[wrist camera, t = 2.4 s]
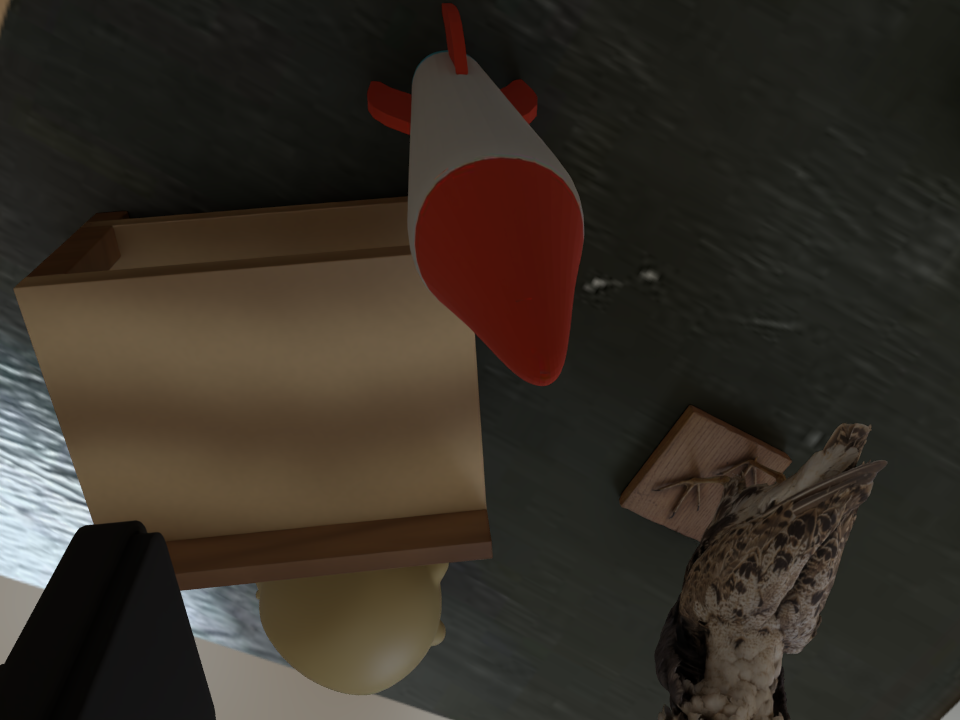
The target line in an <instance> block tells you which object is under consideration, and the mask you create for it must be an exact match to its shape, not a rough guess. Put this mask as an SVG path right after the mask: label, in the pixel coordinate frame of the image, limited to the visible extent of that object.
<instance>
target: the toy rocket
mask: <svg viewBox="0 0 960 720" xmlns="http://www.w3.org/2000/svg"><path fill="white" fill-rule="evenodd" d="M442 15H443V20H444V25H445V31H446V38H447V45H448V50H445V51H438V52H435V53H432V54H430V55H429V56H427V57H425V58H424V59H423V60H422V61H421V62H420V64H419V65H418V66H417V68H416V70H415V73H414V76H413V80H412V99H411V94H408V93H405V92H402V91H399V90H396V89H393V88H390V87H388V86H387V85H385V84H383V83H381V82H377V81H371V83H370V86H369V89H368V92H367V99H368V111H369V112H370V113H371V115H372V116H373V118H374V119H376V120H378V121H379V122H381V123H382V124H384V125H386V126H388V127H390V128H393V129H395V130H398V131H401V132H403V133H406V134H408V135H410V157H409V186H408V218H407V223H408V236H409V244H410V250H411V254H412V258H413V261H414V264H415V267H416V270H417V272H418V274H419V275H420V277H421V279H422V281H423V283H424V284H425V286H426V287H427V289H428V290H429V291H430V292H431V293H432V294H433V295H434V296H435V297H436V298H437V300H439V301H440V302H441V303H442V304H443V305H444V306H446V307H447V308H448V309H449V310H450V311H451V312H453V313H454V314H455V315H456V316H457V317H458V318H459V319H460V320H461V321H463V322H464V323H465V324H466V325H467V326H468V327H469V328H470V329H471V330H472V331H473V332H474V333H475V334H476V335H477V336H478V337H479V338H480V339H481V340H482V341H483V342H484V343H485V344H486V345H487V346H488V347H489V348H490V349H491V351H492V352H493V353H494V354H495V355H496V356H497V357H498V358H499V359H500V360H501V361H502V362H503V363H504V364H505V365H506V366H507V367H508V368H509V369H510V370H511V371H513V372H514V373H515V374H516V375H517V376H519V377H520V378H522V379H523V380H525V381H527V382H529V383H531V384H534V385H537V386H546V385H549V384H551V383H553V382H554V381H555V380H556V379H557V378H558V376H559V375H560V373H561V370H562V368H563V365H564V362H565V358H566V353H567V347H568V340H569V333H570V325H571V315H572V306H573V297H574V290H575V284H576V279H577V273H578V268H579V264H580V259H581V254H582V248H583V241H584V216H583V211H582V207H581V202H580V197H579V195H578V193H577V190H576V188H575V186H574V183H573V181H572V179H571V177H570V176H569V174H568V173H567V171H566V170H565V169H564V167H563V166H562V165H561V163H560V162H559V161H558V159H557V158H556V157H555V155H554V154H553V153H552V152H551V150H550V149H549V148H548V147H547V146H546V144H545V143H544V142H543V141H542V140H541V138H540V137H539V136H538V135H537V134H536V132H535V131H534V130H533V129H532V128H531V126H530V125H529V124H530V123H531V122H532V120H533V119H534V118H535V117H536V116H537V96H536V94H535V93H534V91H533V90H532V89H531V88H530V87H529V86H528V85H527V84H526V83H525V82H524V81H523V80H522V79H520V80H514V81H512V82H511V83H510V84H509V85H508V86H507V87H504V88H502V89H499V88H498V87H497V86H496V85H495V84H494V82H493V81H492V80H491V79H490V78H489V76H488V75H487V74H486V73H485V72H484V70H483V69H482V68H481V67H480V66H479V64H478V63H477V62H476V61H475V60H474V59H473V58H472V57H470V56H469V55H467V54H466V49H465V41H464V35H463V29H462V23H461V19H460V15H459V11H458V9H457V8H456V6H455V5H453V4H452V3H442Z"/></svg>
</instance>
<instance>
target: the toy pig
mask: <svg viewBox="0 0 960 720" xmlns="http://www.w3.org/2000/svg"><path fill="white" fill-rule="evenodd" d="M448 565H449V563H441V564H432V565H422V566H413V567H403V568H393V569H384V570H374V571H364V572H355V573H345V574H336V575H326V576H316V577H307V578H297V579H287V580H278V581H268V582H259V583H256V585H257V587H258V591H257V592H256V598H257V599H259V611H260V618H261V622H262V625H263V628H264V630H265V632H266V634H267V636H268V638H269V640H270V641H271V643H272V644H273V646H274V647H275V648H276V650H277V651H278V652H279V653H280V654H281V656H282V657H283V658H284V659H285V660H286V661H287V662H288V663H289V664H290V665H291V666H292V667H293V668H295V669H296V670H297V671H298V672H300V673H301V674H302V675H304V676H305V677H307V678H308V679H310V680H312V681H313V682H315V683H317V684H319V685H321V686H324V687H326V688H328V689H331V690H334V691H337V692H341V693H345V694H352V695H370V694H375V693H378V692H380V691H383V690H385V689H387V688H389V687H391V686H392V685H394V684H396V683H397V682H399V681H400V680H402V679H403V678H404V677H406V676H407V675H408V674H409V673H410V672H411V671H412V670H413V669H414V668H415V667H416V666H417V665H418V664H419V663H420V662H421V660H422V659H423V658H424V656H425V655H426V653H427V652H428V650H429V648H430V646H435V645H438V644H440V643H441V642H442V641H443V639H444V637H445V633H446V630H445V626H444V624H443V623H442V621H441V620H440V616H441V587H440V581H441V580H442V578H443V576H444V575H445V573H446V571H447V569H448Z"/></svg>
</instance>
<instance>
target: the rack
mask: <svg viewBox="0 0 960 720" xmlns="http://www.w3.org/2000/svg"><path fill="white" fill-rule="evenodd" d="M407 218H408V196H405V197H393V198H380V199H368V200H356V201H343V202H331V203H319V204H306V205H294V206H282V207H269V208H257V209H245V210H232V211H220V212H208V213H195V214H183V215H171V216H158V217H146V218H134V219H129V215H128V212H127V211H118V212H106V213H96V214H95V215H94V216H93V217H92V218H90V219H89V220H88V221H87V222H86V223H85V224H84V225H83V226H81V227H80V228H79V229H78V230H77V231H76V232H75V233H74V234H73V235H72V236H71V237H70V238H68V239H67V240H66V241H65V242H64V243H63V244H62V245H61V246H60V247H59V248H57V249H56V250H55V251H54V252H53V253H52V254H51V255H50V256H49V257H48V258H47V259H45V260H44V261H43V262H42V263H41V264H40V265H39V266H38V267H37V268H36V269H34V270H33V271H32V272H31V273H30V274H29V275H28V276H27V277H25V278H24V279H23V280H22V281H21V282H20V283H19V284H17V285H16V286H15V287H14V292H15V295H16V298H17V301H18V304H19V307H20V310H21V313H22V315H23V318H24V321H25V324H26V327H27V330H28V333H29V336H30V339H31V342H32V345H33V348H34V351H35V354H36V356H37V359H38V362H39V365H40V368H41V371H42V374H43V377H44V380H45V383H46V386H47V389H48V392H49V394H50V397H51V400H52V403H53V406H54V409H55V412H56V415H57V418H58V421H59V424H60V427H61V430H62V433H63V435H64V438H65V441H66V444H67V447H68V450H69V453H70V456H71V459H72V462H73V465H74V468H75V471H76V473H77V476H78V479H79V482H80V485H81V488H82V491H83V494H84V497H85V500H86V503H87V506H88V509H89V512H90V514H91V517H92V520H93V523H94V524H104V523H114V522H124V521H134V520H137V521H140V522H142V523H143V525H144V526H145V527H146V530H147V532H148V533H153V532H159V533H161V534H162V535H163V537H164V539H165V542H166V544H167V548H168V551H169V555H170V558H171V561H172V565H173V568H174V572H175V575H176V579H177V582H178V585H179V589H180V591H182V590H191V589H201V588H211V587H220V586H230V585H239V584H249V583H259V582H268V581H278V580H287V579H297V578H307V577H316V576H326V575H336V574H345V573H355V572H364V571H374V570H384V569H393V568H403V567H413V566H422V565H432V564H441V563H451V562H461V561H470V560H480V559H489V558H492V557H493V556H492V541H491V535H490V528H489V522H488V515H487V508H486V494H485V479H484V464H483V449H482V434H481V419H480V404H479V389H478V375H477V360H476V345H475V333H474V332H473V331H472V330H471V329H470V328H469V327H468V326H467V325H466V324H465V323H464V322H463V321H461V320H460V319H459V318H458V317H457V316H456V315H455V314H454V313H453V312H451V311H450V310H449V309H448V308H447V307H446V306H444V305H443V304H442V303H441V302H440V301H439V300H437V298H436V297H435V296H434V295H433V294H432V293H431V292H430V291H429V290H428V289H427V287H426V286H425V284H424V283H423V281H422V279H421V277H420V275H419V274H418V272H417V270H416V267H415V264H414V261H413V258H412V254H411V250H410V244H409V236H408V223H407Z"/></svg>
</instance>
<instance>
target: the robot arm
mask: <svg viewBox="0 0 960 720" xmlns="http://www.w3.org/2000/svg"><path fill="white" fill-rule="evenodd" d="M0 720H216V717H215V709H214V705H213V702H212V698H211V694H210V691H209V688H208V684H207V681H206V677H205V674H204V671H203V668H202V664H201V660H200V657H199V654H198V650H197V647H196V643H195V640H194V636H193V633H192V630H191V626H190V623H189V619H188V616H187V613H186V609H185V606H184V602H183V599H182V596H181V592H180V589H179V585H178V582H177V579H176V575H175V572H174V568H173V565H172V561H171V558H170V555H169V551H168V548H167V544H166V542H165V539H164V537H163V535H162V534H161V533H159V532H153V533H148V532H147V530H146V527H145V526H144V525H143V523H142V522H140V521H137V520H134V521H124V522H114V523H104V524H94V525H85V526H83V527H81V528H79V529H78V531H77V532H76V533H75V535H74V536H73V538H72V540H71V542H70V544H69V546H68V547H67V549H66V551H65V553H64V555H63V557H62V558H61V560H60V562H59V564H58V566H57V568H56V570H55V571H54V573H53V575H52V577H51V579H50V581H49V582H48V584H47V586H46V588H45V590H44V592H43V593H42V595H41V597H40V599H39V601H38V603H37V605H36V606H35V608H34V610H33V612H32V614H31V616H30V617H29V619H28V621H27V623H26V625H25V627H24V629H23V630H22V632H21V634H20V636H19V638H18V640H17V641H16V643H15V645H14V647H13V649H12V651H11V652H10V654H9V656H8V658H7V660H6V662H5V664H1V665H0Z"/></svg>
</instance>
